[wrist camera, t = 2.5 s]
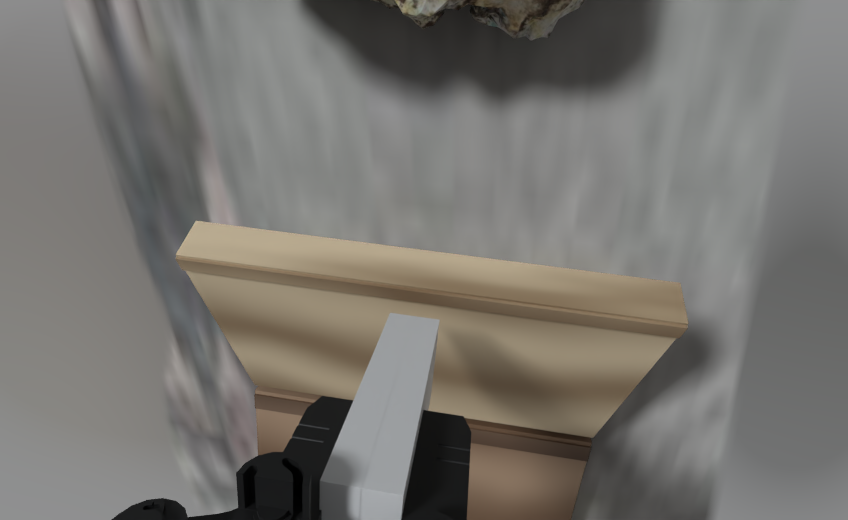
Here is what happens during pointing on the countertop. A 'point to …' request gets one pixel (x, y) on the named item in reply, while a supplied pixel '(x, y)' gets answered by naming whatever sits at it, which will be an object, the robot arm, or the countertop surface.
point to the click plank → (458, 327)
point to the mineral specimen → (493, 13)
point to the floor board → (472, 460)
